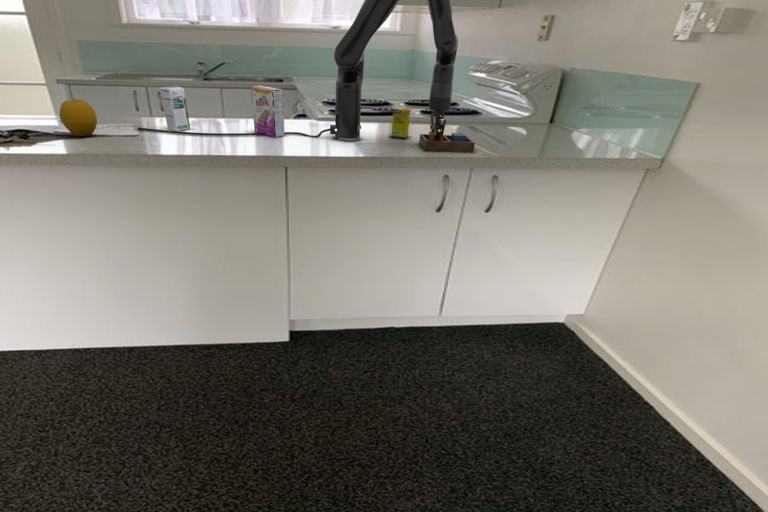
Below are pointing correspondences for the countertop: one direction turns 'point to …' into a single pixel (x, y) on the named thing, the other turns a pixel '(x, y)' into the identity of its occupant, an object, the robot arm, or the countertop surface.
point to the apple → (78, 117)
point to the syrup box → (175, 108)
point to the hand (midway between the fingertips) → (434, 144)
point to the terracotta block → (431, 136)
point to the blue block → (458, 137)
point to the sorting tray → (446, 144)
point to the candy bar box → (268, 110)
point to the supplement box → (400, 122)
